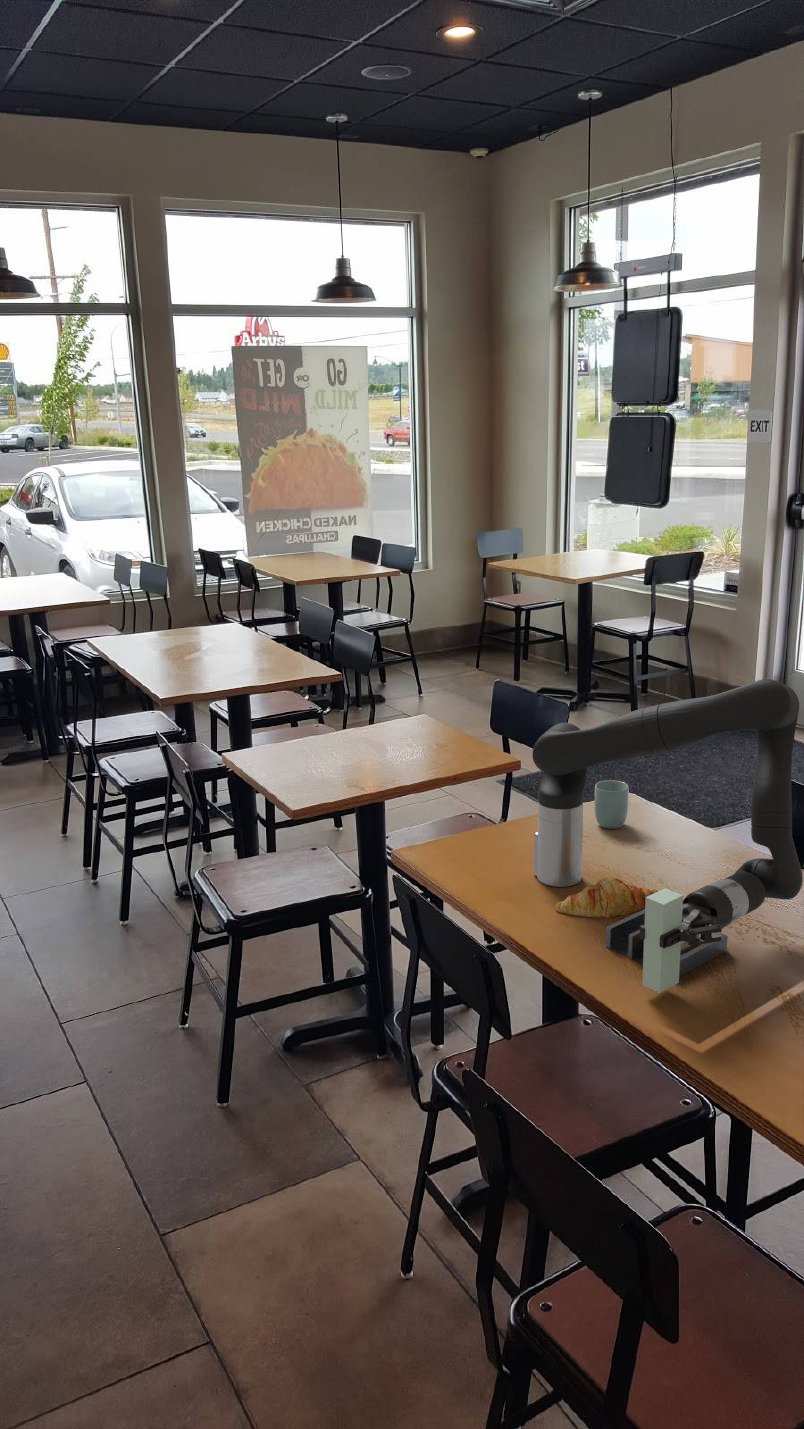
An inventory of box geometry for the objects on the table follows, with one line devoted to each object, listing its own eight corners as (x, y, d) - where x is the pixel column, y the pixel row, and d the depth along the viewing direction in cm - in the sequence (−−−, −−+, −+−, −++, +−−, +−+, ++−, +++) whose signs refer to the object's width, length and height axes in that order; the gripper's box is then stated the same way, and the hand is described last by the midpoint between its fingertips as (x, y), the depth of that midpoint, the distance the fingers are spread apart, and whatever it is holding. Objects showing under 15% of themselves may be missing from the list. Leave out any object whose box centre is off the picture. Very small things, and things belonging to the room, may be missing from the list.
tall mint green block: (642, 984, 180) (645, 897, 175) (661, 974, 183) (665, 888, 178) (659, 993, 177) (663, 904, 173) (678, 982, 180) (683, 895, 176)
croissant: (560, 938, 209) (566, 914, 204) (546, 896, 216) (551, 872, 211) (663, 924, 213) (672, 900, 207) (646, 883, 220) (654, 859, 214)
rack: (605, 951, 197) (606, 924, 195) (658, 926, 206) (659, 899, 204) (673, 984, 185) (674, 955, 184) (726, 955, 194) (728, 928, 193)
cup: (627, 832, 250) (628, 792, 247) (593, 831, 251) (594, 790, 248) (627, 820, 257) (629, 780, 254) (594, 818, 258) (595, 779, 256)
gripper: (683, 873, 190) (618, 902, 180) (753, 899, 179) (688, 932, 169) (681, 911, 192) (617, 942, 182) (750, 940, 182) (685, 975, 171)
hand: (651, 937), depth 176 cm, fingers closed on tall mint green block, 3 cm apart
